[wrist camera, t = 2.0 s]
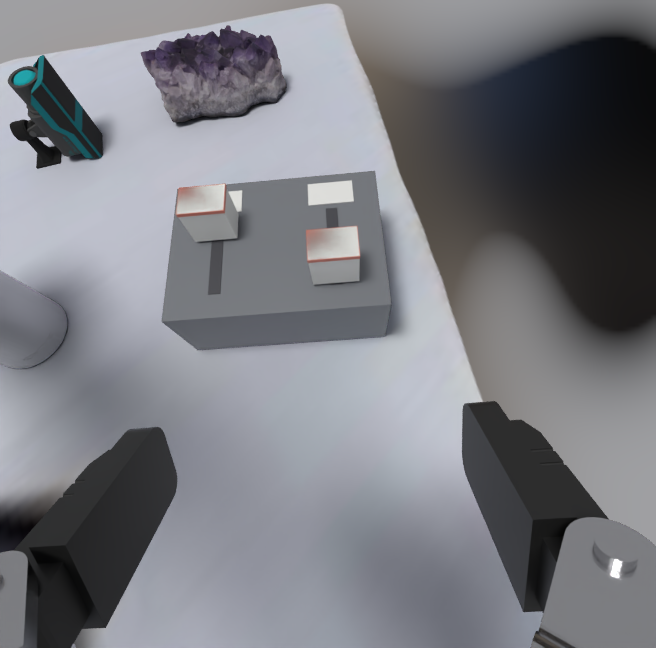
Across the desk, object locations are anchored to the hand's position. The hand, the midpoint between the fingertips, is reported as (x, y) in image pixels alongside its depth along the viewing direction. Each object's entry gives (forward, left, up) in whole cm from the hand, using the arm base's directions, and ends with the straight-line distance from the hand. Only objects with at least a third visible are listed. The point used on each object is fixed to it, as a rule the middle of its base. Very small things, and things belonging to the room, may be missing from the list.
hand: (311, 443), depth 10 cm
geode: (-48, +33, -32) cm, 66 cm away
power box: (-18, +13, -31) cm, 39 cm away
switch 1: (-24, +11, -22) cm, 35 cm away
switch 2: (-11, +14, -22) cm, 29 cm away
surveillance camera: (-60, +11, -32) cm, 69 cm away
